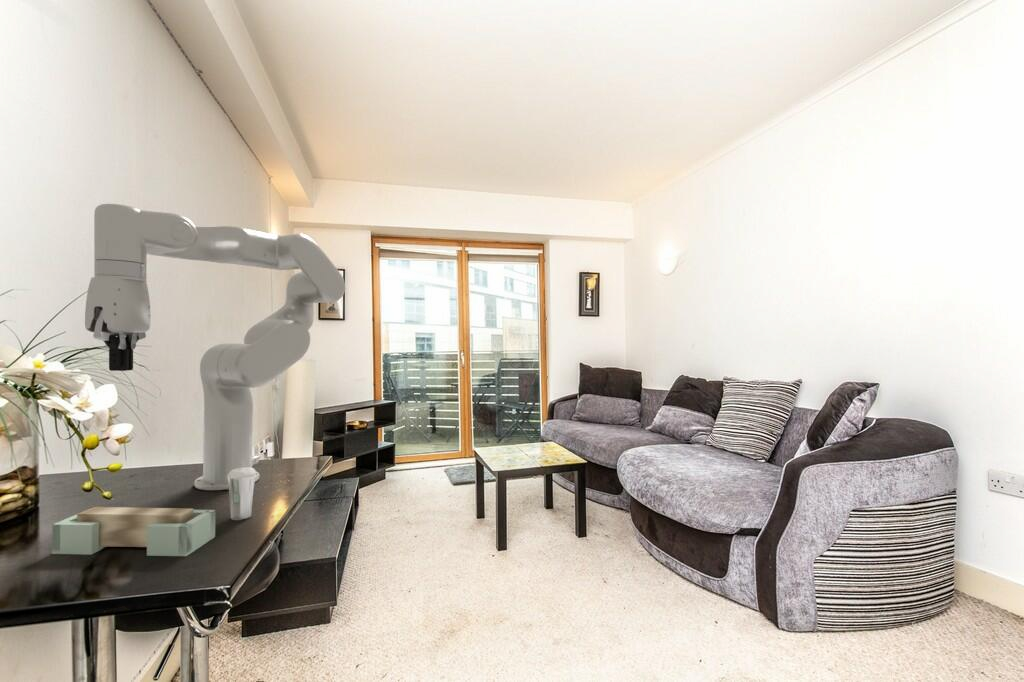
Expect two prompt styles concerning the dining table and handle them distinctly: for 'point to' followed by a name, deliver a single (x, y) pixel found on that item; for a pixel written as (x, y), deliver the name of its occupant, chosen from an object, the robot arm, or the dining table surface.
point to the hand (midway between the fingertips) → (121, 370)
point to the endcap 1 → (75, 537)
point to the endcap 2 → (181, 535)
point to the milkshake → (241, 491)
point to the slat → (130, 523)
